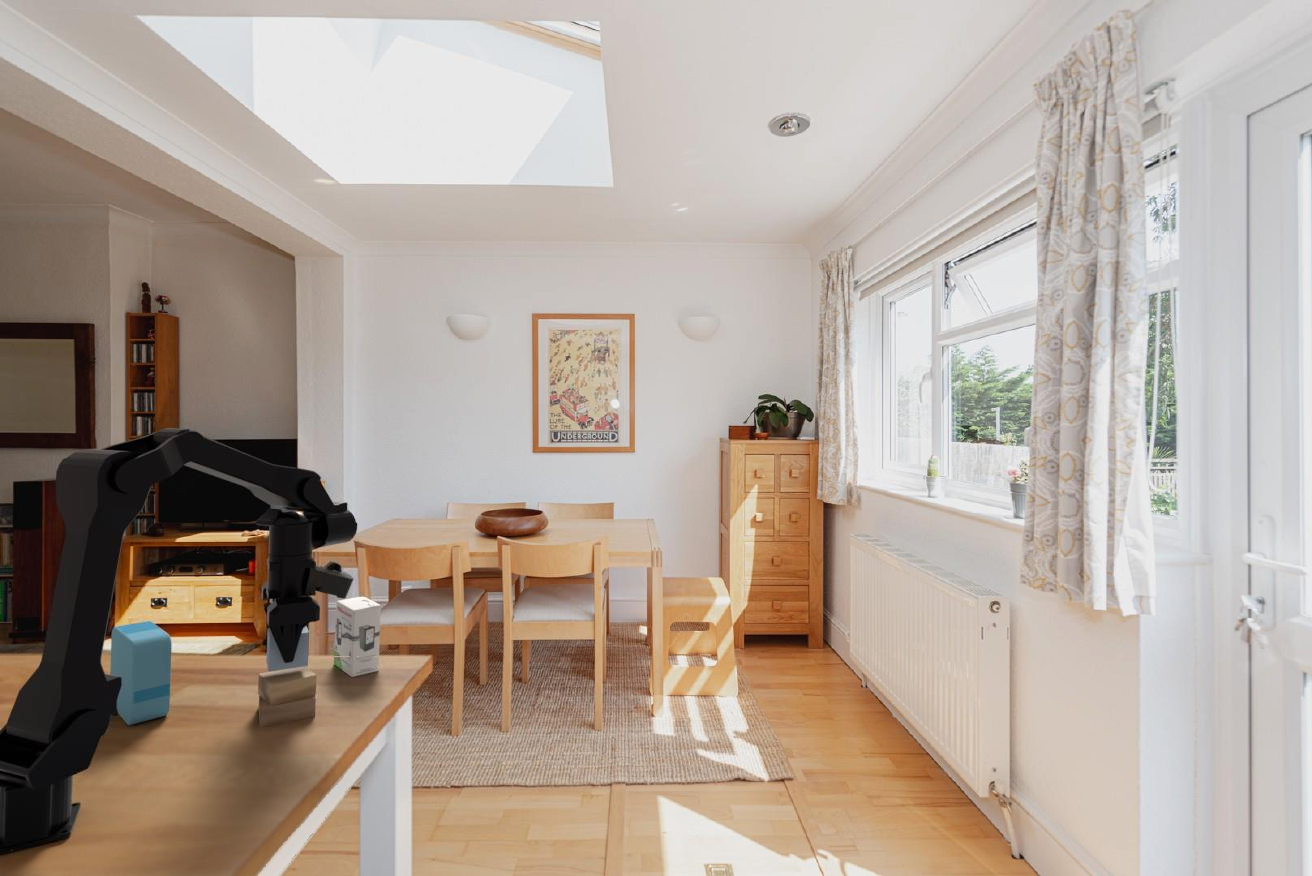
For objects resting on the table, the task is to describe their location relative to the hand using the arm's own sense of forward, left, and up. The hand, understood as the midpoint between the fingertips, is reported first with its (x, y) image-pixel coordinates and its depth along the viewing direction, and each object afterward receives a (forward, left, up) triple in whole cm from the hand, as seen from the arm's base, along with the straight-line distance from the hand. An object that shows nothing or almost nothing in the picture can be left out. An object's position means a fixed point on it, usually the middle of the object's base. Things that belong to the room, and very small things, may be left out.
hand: (287, 656), depth 94 cm
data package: (+11, +18, -8) cm, 23 cm away
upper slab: (0, 0, -6) cm, 6 cm away
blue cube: (0, 0, -1) cm, 1 cm away
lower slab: (0, 0, -9) cm, 9 cm away
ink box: (+14, -12, -8) cm, 20 cm away
